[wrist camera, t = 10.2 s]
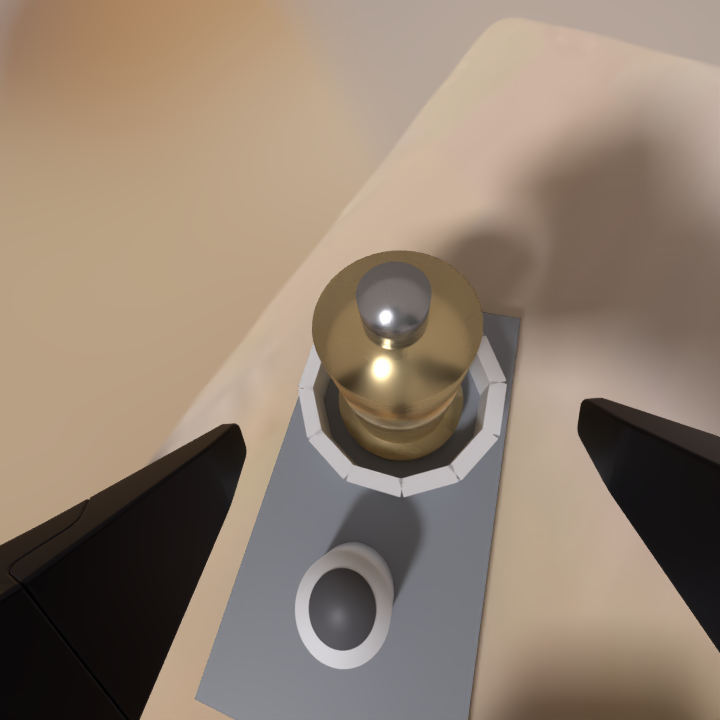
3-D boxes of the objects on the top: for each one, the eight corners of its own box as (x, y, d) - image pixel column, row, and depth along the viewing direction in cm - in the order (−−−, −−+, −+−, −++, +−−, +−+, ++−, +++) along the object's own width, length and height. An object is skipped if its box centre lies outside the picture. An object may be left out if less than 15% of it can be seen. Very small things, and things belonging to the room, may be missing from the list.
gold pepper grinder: (485, 401, 19) (589, 285, 8) (399, 489, 18) (391, 486, 7) (399, 327, 21) (394, 162, 11) (319, 400, 20) (223, 298, 9)
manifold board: (449, 797, 14) (465, 924, 10) (211, 682, 17) (147, 745, 13) (513, 329, 22) (538, 290, 17) (340, 299, 24) (325, 259, 20)
